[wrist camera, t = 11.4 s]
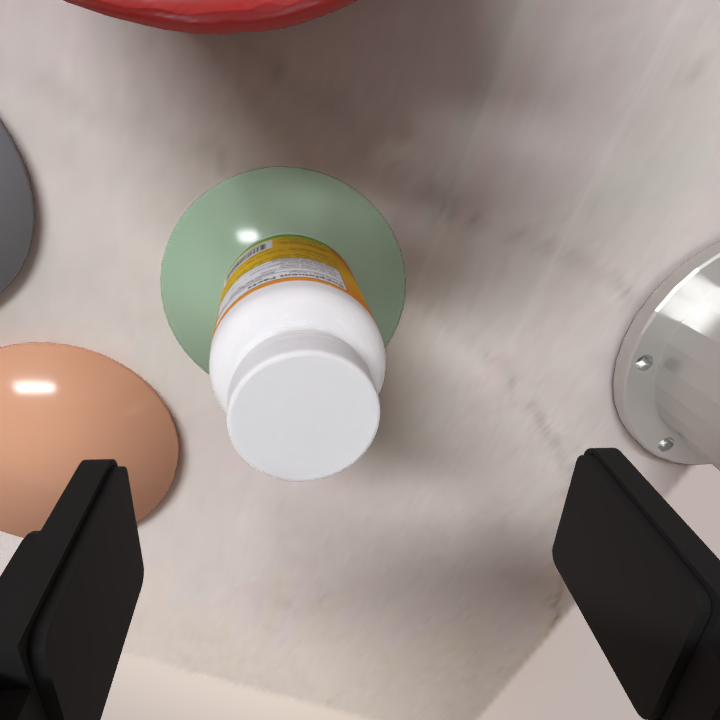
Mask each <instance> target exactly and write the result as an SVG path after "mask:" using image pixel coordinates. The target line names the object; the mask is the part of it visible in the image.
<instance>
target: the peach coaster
mask: <svg viewBox="0 0 720 720" xmlns="http://www.w3.org/2000/svg"><path fill="white" fill-rule="evenodd" d="M178 453H179V443H178V435H177V431H176V427H175V423H174V421H173V419H172V416H171V414H170V412H169V410H168V408H167V407H166V405H165V403H164V402H163V400H162V399H161V398H160V397H159V395H158V394H157V393H156V392H155V390H154V389H153V388H152V387H151V386H150V385H149V384H148V383H147V382H146V381H144V380H143V379H142V378H141V377H140V376H138V375H137V374H136V373H134V372H133V371H132V370H130V369H129V368H127V367H125V366H124V365H122V364H120V363H119V362H117V361H115V360H113V359H111V358H108V357H106V356H104V355H102V354H100V353H96V352H93V351H90V350H87V349H84V348H80V347H76V346H71V345H66V344H57V343H48V342H47V343H22V344H13V345H9V346H5V347H0V530H1V531H3V532H6V533H9V534H12V535H16V536H19V537H23V538H25V537H26V535H27V534H29V533H30V532H32V531H41V529H42V527H43V526H44V524H45V522H46V521H47V519H48V517H49V515H50V514H51V512H52V510H53V509H54V507H55V505H56V503H57V502H58V500H59V498H60V497H61V495H62V493H63V491H64V490H65V488H66V486H67V484H68V483H69V481H70V479H71V478H72V476H73V474H74V472H75V471H76V469H77V467H78V466H79V464H80V463H81V461H83V460H90V459H114V460H116V462H117V464H118V466H125V467H126V468H127V471H128V476H129V482H130V488H131V494H132V500H133V506H134V512H135V518H136V522H138V521H139V520H140V519H142V518H143V517H145V516H146V515H147V514H148V513H149V512H151V511H152V510H153V509H154V508H155V507H156V506H157V505H158V503H159V502H160V501H161V500H162V499H163V497H164V496H165V494H166V493H167V491H168V489H169V488H170V485H171V483H172V481H173V478H174V475H175V471H176V467H177V462H178Z"/></svg>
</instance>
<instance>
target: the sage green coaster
mask: <svg viewBox="0 0 720 720" xmlns="http://www.w3.org/2000/svg"><path fill="white" fill-rule="evenodd" d="M287 232H292V233H301V234H305V235H309V236H312V237H315V238H317V239H319V240H321V241H323V242H325V243H327V244H328V245H330V246H331V247H332V248H333V249H335V250H336V251H337V252H338V253H339V254H340V255H341V257H342V258H343V259H344V260H345V262H346V263H347V265H348V267H349V268H350V270H351V272H352V274H353V276H354V278H355V280H356V282H357V284H358V286H359V289H360V291H361V293H362V295H363V297H364V299H365V301H366V303H367V305H368V307H369V310H370V312H371V314H372V316H373V318H374V320H375V322H376V324H377V326H378V329H379V332H380V334H381V337H382V340H383V343H384V348H385V347H386V345H387V344H388V342H389V340H390V339H391V337H392V335H393V333H394V331H395V329H396V327H397V324H398V322H399V319H400V316H401V312H402V309H403V303H404V297H405V271H404V263H403V259H402V255H401V251H400V248H399V246H398V243H397V241H396V238H395V236H394V234H393V232H392V230H391V229H390V227H389V225H388V223H387V222H386V220H385V219H384V218H383V216H382V215H381V214H380V213H379V211H378V210H377V209H376V208H375V207H374V206H373V205H372V204H371V203H370V202H369V201H368V200H367V199H366V198H365V197H364V196H363V195H361V194H360V193H359V192H357V191H356V190H355V189H353V188H352V187H350V186H349V185H347V184H345V183H343V182H341V181H340V180H338V179H336V178H333V177H331V176H328V175H325V174H323V173H320V172H316V171H312V170H308V169H303V168H294V167H268V168H262V169H256V170H251V171H248V172H245V173H241V174H238V175H235V176H233V177H231V178H229V179H227V180H225V181H223V182H220V183H218V184H217V185H215V186H214V187H213V188H211V189H210V190H208V191H207V192H205V193H204V194H203V195H202V196H200V197H199V198H198V199H197V200H196V201H195V202H194V203H193V204H192V205H191V206H190V207H189V208H188V210H187V211H186V212H185V213H184V214H183V216H182V217H181V218H180V220H179V222H178V223H177V225H176V227H175V228H174V230H173V232H172V234H171V236H170V239H169V241H168V243H167V246H166V249H165V253H164V257H163V261H162V268H161V278H160V281H161V296H162V302H163V307H164V311H165V314H166V317H167V320H168V323H169V325H170V327H171V329H172V331H173V333H174V335H175V337H176V339H177V341H178V342H179V344H180V345H181V347H182V348H183V349H184V351H185V352H186V353H187V354H188V355H189V357H190V358H191V359H192V360H193V361H194V362H195V363H196V364H197V365H198V366H199V367H201V368H202V369H203V370H204V371H205V372H206V373H208V374H209V375H210V373H209V359H210V350H211V343H212V337H213V333H214V328H215V323H216V318H217V314H218V309H219V304H220V299H221V294H222V289H223V284H224V281H225V278H226V275H227V273H228V270H229V268H230V266H231V265H232V263H233V262H234V260H235V259H236V257H237V256H238V255H239V254H240V253H241V252H242V251H243V250H244V249H245V248H246V247H248V246H249V245H250V244H252V243H253V242H255V241H257V240H259V239H261V238H263V237H266V236H269V235H273V234H278V233H287Z"/></svg>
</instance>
